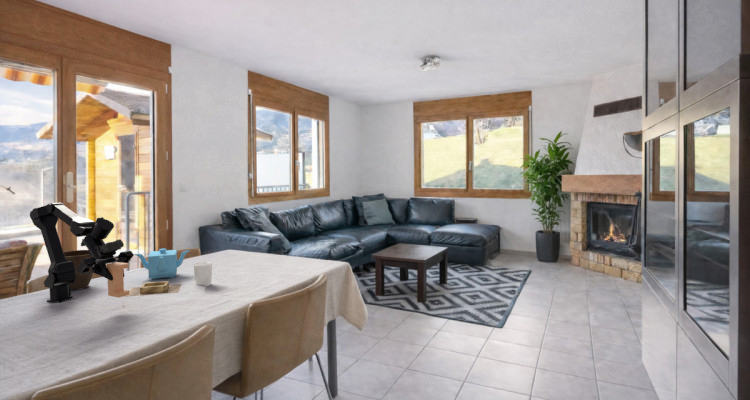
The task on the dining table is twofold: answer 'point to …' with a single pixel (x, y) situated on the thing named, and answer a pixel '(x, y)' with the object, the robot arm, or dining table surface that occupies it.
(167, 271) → the teakettle
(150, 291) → the brown tray
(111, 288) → the c link
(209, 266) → the white cup
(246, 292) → the dining table surface
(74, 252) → the plant pot
